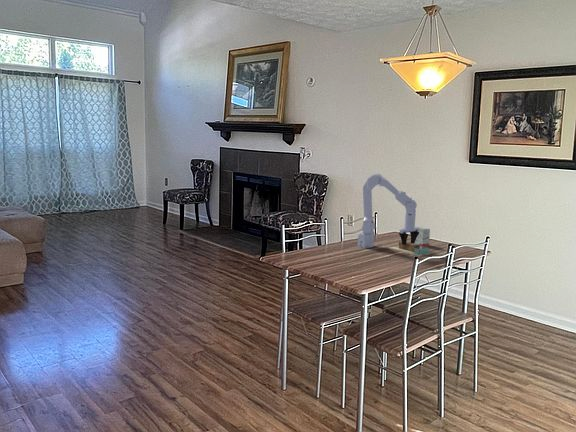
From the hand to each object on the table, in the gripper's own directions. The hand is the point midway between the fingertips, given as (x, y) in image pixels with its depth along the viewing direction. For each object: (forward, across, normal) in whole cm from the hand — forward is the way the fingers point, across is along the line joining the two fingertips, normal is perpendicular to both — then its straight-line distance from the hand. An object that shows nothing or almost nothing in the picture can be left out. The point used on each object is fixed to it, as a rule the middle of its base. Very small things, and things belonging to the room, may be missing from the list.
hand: (408, 244), depth 292 cm
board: (+4, 0, -2) cm, 5 cm away
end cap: (+3, 0, -10) cm, 10 cm away
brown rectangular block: (+3, 0, -1) cm, 3 cm away
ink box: (+4, +17, +4) cm, 18 cm away
